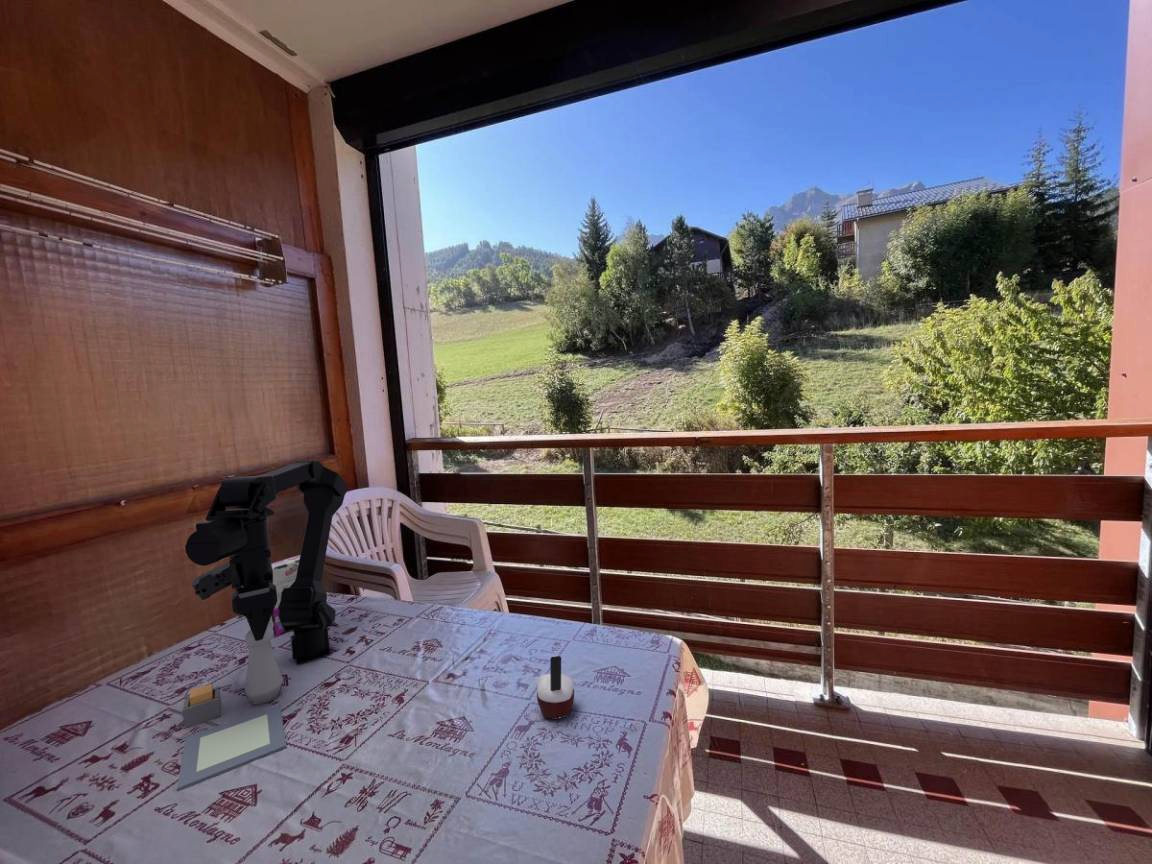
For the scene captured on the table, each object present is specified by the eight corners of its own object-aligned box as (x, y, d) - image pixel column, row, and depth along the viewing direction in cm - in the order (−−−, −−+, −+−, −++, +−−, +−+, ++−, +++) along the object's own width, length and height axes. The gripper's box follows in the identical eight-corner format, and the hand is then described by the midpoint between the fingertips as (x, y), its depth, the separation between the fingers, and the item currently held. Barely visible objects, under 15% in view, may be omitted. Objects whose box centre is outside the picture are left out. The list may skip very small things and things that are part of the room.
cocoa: (546, 697, 83) (541, 630, 83) (581, 699, 82) (576, 631, 82) (529, 732, 74) (523, 656, 74) (567, 735, 73) (561, 657, 73)
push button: (213, 697, 84) (212, 683, 84) (213, 706, 82) (211, 691, 82) (192, 704, 83) (190, 690, 83) (190, 713, 80) (189, 698, 80)
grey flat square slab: (280, 706, 84) (279, 703, 84) (286, 747, 73) (285, 744, 73) (185, 739, 76) (185, 736, 76) (177, 791, 66) (177, 787, 66)
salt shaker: (291, 690, 89) (285, 623, 88) (262, 710, 83) (255, 638, 82) (268, 686, 90) (262, 620, 90) (238, 704, 85) (231, 634, 84)
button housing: (221, 703, 86) (219, 686, 86) (220, 716, 82) (218, 698, 82) (187, 714, 83) (185, 696, 83) (184, 728, 79) (182, 710, 79)
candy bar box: (311, 614, 122) (305, 552, 121) (321, 618, 119) (316, 555, 118) (263, 633, 113) (257, 566, 112) (273, 638, 110) (267, 569, 109)
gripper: (197, 544, 88) (205, 625, 89) (187, 571, 73) (198, 668, 74) (268, 532, 94) (275, 608, 95) (273, 554, 79) (281, 644, 80)
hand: (258, 630), depth 86 cm, fingers open, 9 cm apart
